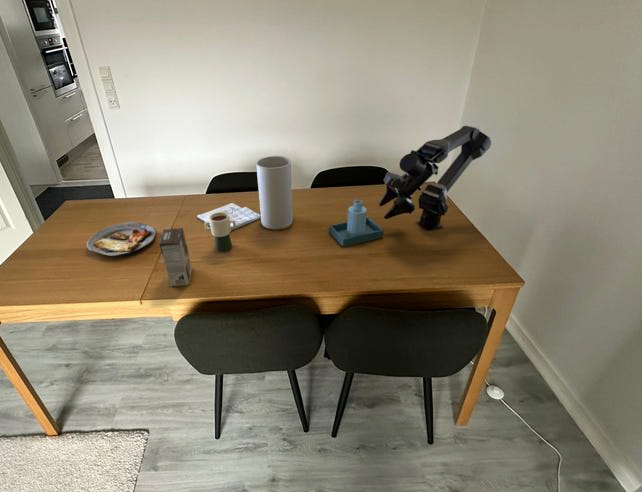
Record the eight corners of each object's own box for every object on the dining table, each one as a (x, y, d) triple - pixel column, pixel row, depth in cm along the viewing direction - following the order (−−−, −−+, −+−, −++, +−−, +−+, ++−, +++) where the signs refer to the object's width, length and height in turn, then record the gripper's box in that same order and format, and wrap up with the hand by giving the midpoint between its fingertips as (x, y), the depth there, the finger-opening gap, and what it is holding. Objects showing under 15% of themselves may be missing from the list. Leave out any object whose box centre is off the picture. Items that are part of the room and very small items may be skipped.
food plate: (168, 233, 149) (166, 225, 147) (127, 265, 132) (124, 256, 130) (121, 223, 158) (118, 215, 156) (76, 251, 141) (73, 243, 139)
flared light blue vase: (358, 228, 142) (361, 196, 135) (367, 235, 137) (371, 203, 130) (343, 231, 141) (345, 199, 133) (352, 239, 136) (354, 207, 128)
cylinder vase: (256, 228, 148) (250, 166, 134) (268, 213, 157) (264, 155, 143) (286, 232, 144) (283, 169, 129) (296, 217, 153) (295, 157, 139)
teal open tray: (366, 223, 145) (367, 217, 144) (382, 237, 137) (383, 230, 135) (329, 232, 142) (329, 225, 140) (342, 246, 133) (343, 239, 131)
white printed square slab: (222, 235, 145) (222, 230, 143) (196, 217, 158) (195, 213, 157) (261, 218, 154) (261, 214, 153) (234, 203, 167) (233, 199, 166)
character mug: (239, 242, 140) (235, 210, 132) (238, 252, 134) (233, 220, 126) (210, 243, 140) (204, 212, 133) (207, 254, 134) (201, 222, 127)
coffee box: (173, 270, 127) (162, 228, 118) (192, 268, 127) (183, 227, 118) (169, 287, 120) (158, 244, 111) (190, 285, 120) (180, 242, 111)
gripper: (392, 154, 130) (361, 187, 138) (406, 176, 115) (370, 212, 123) (415, 172, 134) (383, 204, 142) (430, 196, 119) (394, 230, 127)
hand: (382, 211), depth 133 cm, fingers open, 9 cm apart
